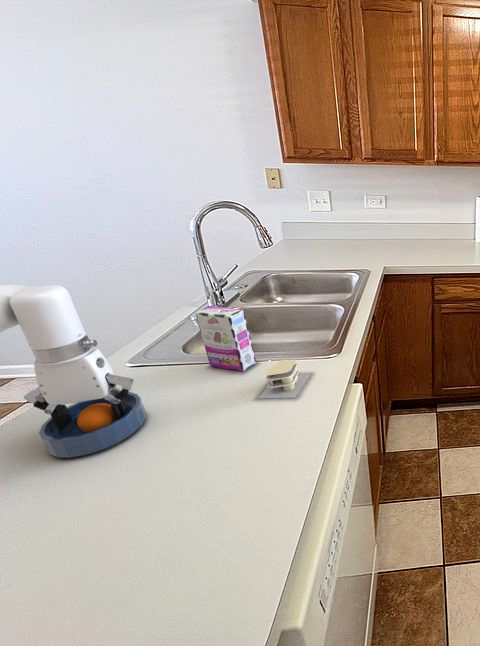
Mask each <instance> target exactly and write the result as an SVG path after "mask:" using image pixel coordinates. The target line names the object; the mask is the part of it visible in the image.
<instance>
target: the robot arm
mask: <svg viewBox="0 0 480 646" xmlns="http://www.w3.org/2000/svg"><path fill="white" fill-rule="evenodd" d="M15 326H19V327H20V329H21V331H22V334H23V335H24V337H25V339H26V342H27V344H28V345H29V347H30V350H31V351H32V354H33V356H34V357H35V360H34V361H33V365H34V366H33V367H34V374H35V378H36V382H37V385H38V386H37V387H36V388H34V389H32V390H30V391H29V392H27V393H26V394H25V395H24V396H23V399H24V400H26V401H27V402H28V403H30V404H32V405H33V407H34V408H36V409H38V410H41V411H44V414H45V415H50V417H52V419H53V421H54V423H55V424H56V425H57V427H58V429H59V430H62V429H64V428H65V427H66V426H67V425H68V424H69V423H70V422H71V421H72V418H71V415H70V413H69V411H68V409H67V407H68V406H66V405H67V404H75V403H78V402H82V401H89V400H96V399H101V398H104V399H106V400H108V401H110V402H112V403H113V404H112V405H111V408H112V411H113V413H114V415H115V418H116V420H119V419H121V418H122V417H123V416H125V415H126V414H127V412H128V406H127V404H126V401H125V399H124V397H125V396H126V395H127V394H128V392H131V390H132V387H133V385H134V384H133V383H134V379H133V378H131V377H125V376H122V375H116V374H115V373H114V370H113V368H112V366H111V365H110V363H109V362H108V360H107V358H106V357H105V356H104V354H103V353H102V351H100V349H99V348H98V347H97V346H98V342H97V341H98V340H96V339H90V338H89V336H88V335H87V334H86V331H85V328H84V326H83V324H82V320H81V319H80V315H79V314H78V311H77V309H76V306H75V304H74V302H73V299H72V296H71V294H70V293H69V291H68V289H66V287H63V286H61V285H57V284H49V285H48V284H46V285H37V286H30V285H22V284H11V283H8V284H0V333H2V332H5V331H6V330H8V329H11V328H14V327H15ZM117 386H120V387H121V389H119V388H117ZM110 393H112V394H114V395H116V396H114V395H112V394H110ZM41 395H42V396H41Z"/></svg>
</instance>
